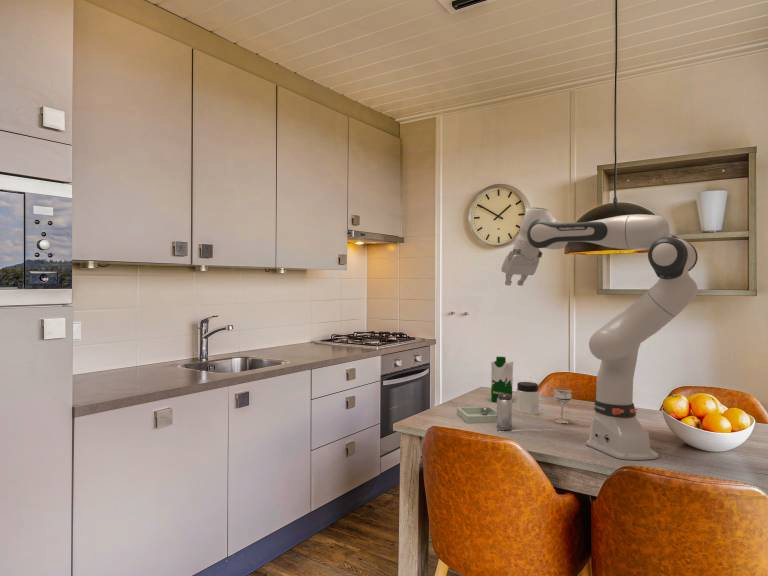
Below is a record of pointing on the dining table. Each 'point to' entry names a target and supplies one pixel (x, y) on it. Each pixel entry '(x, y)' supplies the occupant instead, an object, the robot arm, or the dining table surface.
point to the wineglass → (562, 400)
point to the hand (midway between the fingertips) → (513, 285)
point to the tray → (477, 415)
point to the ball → (484, 411)
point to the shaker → (504, 412)
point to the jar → (527, 398)
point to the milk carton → (501, 377)
